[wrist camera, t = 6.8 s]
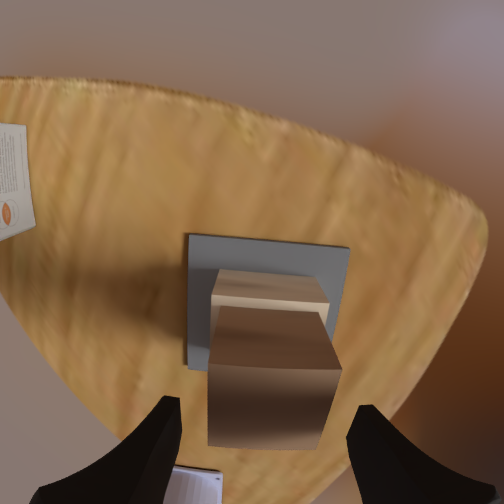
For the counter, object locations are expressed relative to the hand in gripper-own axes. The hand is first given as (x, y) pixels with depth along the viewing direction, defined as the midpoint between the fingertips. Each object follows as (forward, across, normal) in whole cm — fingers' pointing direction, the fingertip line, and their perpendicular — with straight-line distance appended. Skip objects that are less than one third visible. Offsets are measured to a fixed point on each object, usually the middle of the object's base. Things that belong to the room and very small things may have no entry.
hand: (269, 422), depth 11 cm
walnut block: (+6, 0, 0) cm, 6 cm away
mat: (+10, 0, 0) cm, 10 cm away
